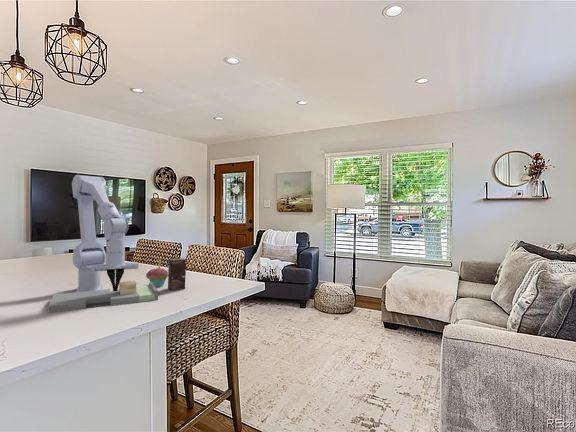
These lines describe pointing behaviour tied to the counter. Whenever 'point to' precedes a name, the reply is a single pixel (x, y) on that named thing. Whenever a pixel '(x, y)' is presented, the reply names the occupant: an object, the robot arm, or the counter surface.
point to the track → (100, 298)
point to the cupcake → (157, 276)
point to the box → (176, 273)
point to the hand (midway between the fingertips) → (115, 290)
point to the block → (127, 287)
